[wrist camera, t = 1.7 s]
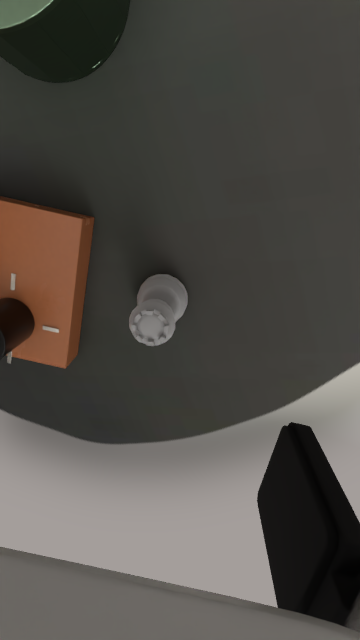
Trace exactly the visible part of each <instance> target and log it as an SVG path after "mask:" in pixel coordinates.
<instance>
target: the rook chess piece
mask: <svg viewBox="0 0 360 640" xmlns="http://www.w3.org/2000/svg"><path fill="white" fill-rule="evenodd" d="M187 304H188V294H187V292H186V289H185V287H184V285H183V284H182V283H181V282H180V281H179V280H178V279H177V278H175V277H172V276H170V275H168V274H157V275H154V276H152V277H149V278H148V279H147V280H146V281H145V282H144V283H143V284H142V285H141V287H140V290H139V292H138V295H137V307H136V308H135V309H134V310H133V311H132V313H131V315H130V318H129V328H130V330H131V332H132V334H133V336H134V337H135V339H136V340H138V341H139V342H142V343H144V344H147V346H154V345H159V344H162V343H165V342H166V341H167V340H168V339H170V338H171V337H172V335H173V332H174V330H175V322H176V321H177V320H178V319H179V318H180V317H181V316H183V313H184V311H185V309H186V307H187Z"/></svg>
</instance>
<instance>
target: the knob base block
mask: <svg viewBox="0 0 360 640" xmlns="http://www.w3.org/2000/svg"><path fill="white" fill-rule="evenodd" d="M93 225H94V217H91V216H86V215H82V214H77V213H73V212H69V211H64V210H60V209H55V208H51V207H47V206H42V205H38V204H34V203H29V202H25V201H20V200H16V199H12V198H7V197H3V196H0V298H14V299H17V300H19V301H21V302H22V303H24V304H25V305H26V306H27V307H28V308H29V309H30V311H31V313H32V315H33V317H34V322H35V326H34V330H33V333H32V334H31V336H30V337H29V338H28V339H26V340H25V341H24V342H22V343H21V344H20V345H18V346H17V347H16V348H14V349H13V350H12V351H11V352H9V353H8V354H7V363H12V357H16V358H21V359H25V360H30V361H34V362H39V363H43V364H48V365H52V366H57V367H61V368H67V366H68V365H69V364H70V363H71V362H72V360H73V359H74V358H75V357H76V356H77V354H78V347H79V339H80V331H81V323H82V315H83V306H84V298H85V290H86V282H87V274H88V266H89V258H90V250H91V242H92V233H93Z"/></svg>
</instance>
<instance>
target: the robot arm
mask: <svg viewBox="0 0 360 640" xmlns="http://www.w3.org/2000/svg"><path fill="white" fill-rule="evenodd" d="M257 499H258V500H257V502H258V508H259V513H260V518H261V524H262V529H263V534H264V539H265V544H266V549H267V554H268V559H269V565H270V570H271V575H272V580H273V585H274V590H275V595H276V600H277V605H278V608H276V607H272V606H268V605H264V604H260V603H255V602H251V601H247V600H242V599H239V598H235V597H230V596H225V595H221V594H216V593H212V592H207V591H203V590H198V589H194V588H189V587H184V586H180V585H175V584H171V583H166V582H162V581H157V580H153V579H148V578H144V577H139V576H134V575H130V574H125V573H120V572H116V571H111V570H106V569H102V568H97V567H93V566H88V565H83V564H79V563H74V562H69V561H65V560H60V559H55V558H51V557H46V556H41V555H36V554H31V553H27V552H22V551H17V550H13V549H8V548H3V547H0V640H360V523H359V521H358V519H357V517H356V515H355V513H354V511H353V509H352V507H351V505H350V503H349V501H348V499H347V497H346V495H345V493H344V491H343V489H342V488H341V485H340V483H339V482H338V480H337V478H336V476H335V474H334V472H333V470H332V468H331V466H330V464H329V462H328V460H327V458H326V456H325V454H324V452H323V450H322V449H321V446H320V444H319V442H318V441H317V439H316V437H315V435H314V433H313V431H312V429H311V427H310V426H306V425H302V424H296V423H292V422H291V423H289V425H288V426H283V427H282V429H281V431H280V434H279V437H278V440H277V442H276V445H275V448H274V450H273V453H272V456H271V459H270V461H269V464H268V467H267V469H266V472H265V475H264V478H263V480H262V483H261V486H260V488H259V491H258V498H257Z"/></svg>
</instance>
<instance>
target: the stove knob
mask: <svg viewBox="0 0 360 640" xmlns="http://www.w3.org/2000/svg"><path fill="white" fill-rule="evenodd" d="M34 326H35V322H34V317H33V315H32V313H31V311H30V309H29V308H28V307H27V306H26V305H25V304H24V303H22V302H21V301H19V300H17V299H14V298H0V359H1V358H3V357H4V356H5V355H7V354H8V353H9V352H11V351H12V350H13V349H14V348H16V347H17V346H18V345H20V344H21V343H22V342H24V341H25V340H26V339H28V338H29V337H30V336H31V334H32V333H33V330H34Z"/></svg>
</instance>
